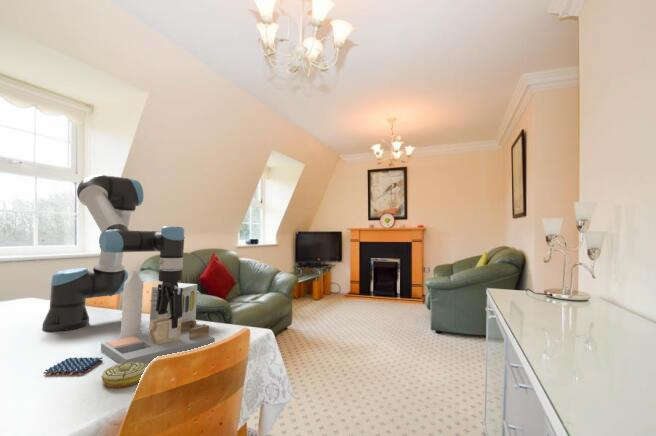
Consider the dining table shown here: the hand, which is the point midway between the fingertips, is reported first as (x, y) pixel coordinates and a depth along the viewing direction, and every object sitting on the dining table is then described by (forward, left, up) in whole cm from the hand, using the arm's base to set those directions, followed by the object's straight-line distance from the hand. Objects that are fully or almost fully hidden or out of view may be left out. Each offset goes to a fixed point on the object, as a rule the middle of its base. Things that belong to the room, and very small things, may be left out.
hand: (167, 334), depth 115 cm
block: (0, -1, -2) cm, 2 cm away
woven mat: (-1, -26, -5) cm, 27 cm away
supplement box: (-23, +14, -4) cm, 27 cm away
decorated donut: (+18, -20, -5) cm, 27 cm away
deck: (-1, -2, -4) cm, 5 cm away
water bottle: (-19, -4, -4) cm, 20 cm away
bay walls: (0, +9, -2) cm, 9 cm away
